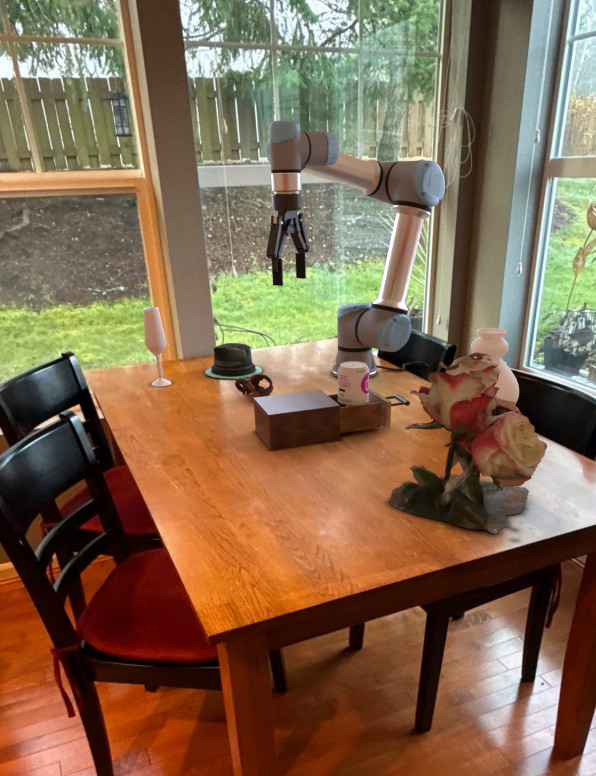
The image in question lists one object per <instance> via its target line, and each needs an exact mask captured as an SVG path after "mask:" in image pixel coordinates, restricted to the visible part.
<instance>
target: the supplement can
mask: <svg viewBox="0 0 596 776" xmlns="http://www.w3.org/2000/svg"><path fill="white" fill-rule="evenodd" d="M369 388H370V378H369V368H368V366H367V364H366V363H364V362H359V361H348V362H343V363H341V364H340V367H339V369H338V377H337V394H338V404H339V405H340V407H346V406H353V405H361V404H369Z"/></svg>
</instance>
